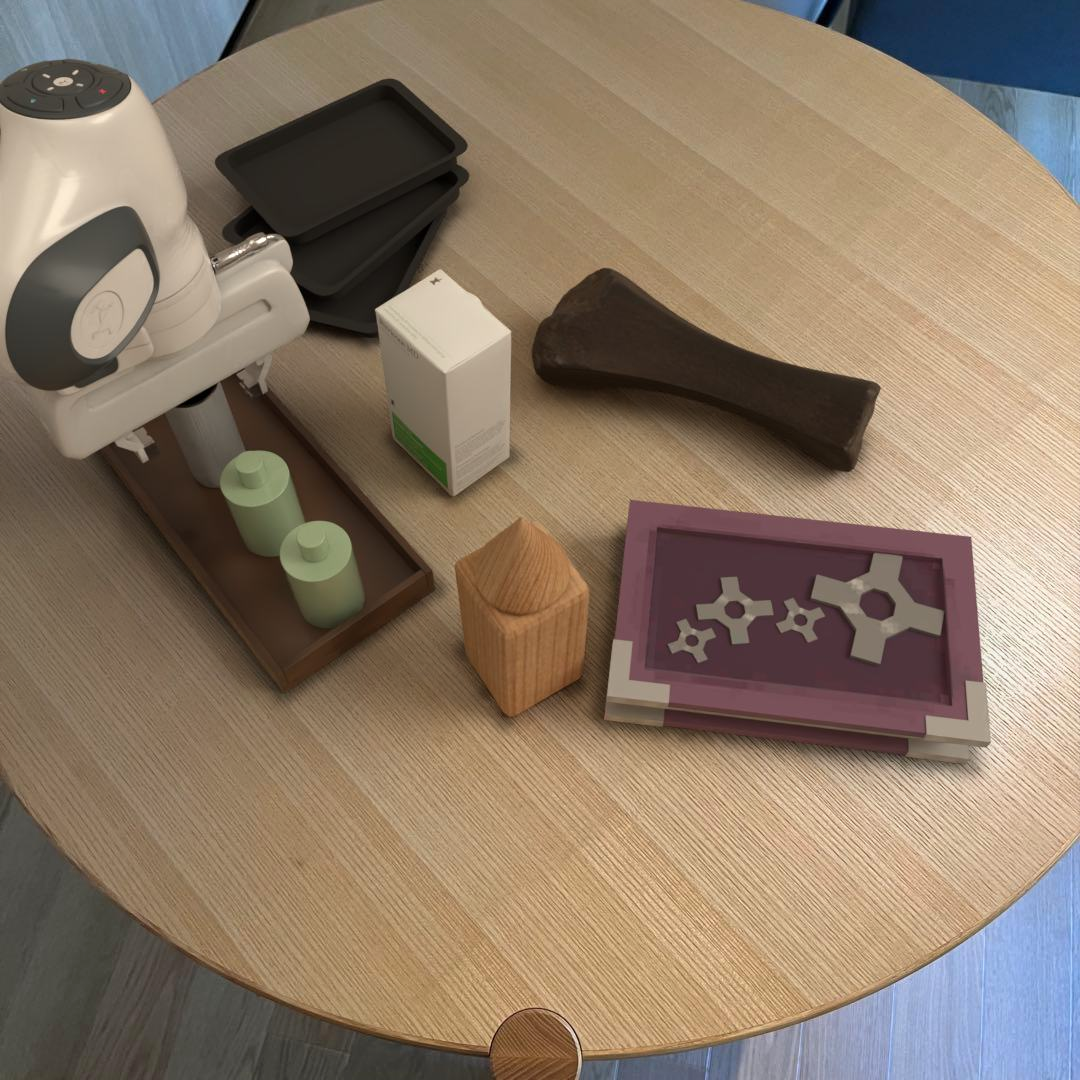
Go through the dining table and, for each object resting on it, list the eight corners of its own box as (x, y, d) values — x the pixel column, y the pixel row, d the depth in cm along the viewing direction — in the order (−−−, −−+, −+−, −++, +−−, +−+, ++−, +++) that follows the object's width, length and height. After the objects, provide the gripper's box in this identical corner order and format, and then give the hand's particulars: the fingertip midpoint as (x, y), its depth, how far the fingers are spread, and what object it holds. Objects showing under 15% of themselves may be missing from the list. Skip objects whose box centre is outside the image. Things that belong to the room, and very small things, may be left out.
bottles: (322, 641, 82) (299, 579, 75) (229, 526, 88) (199, 457, 80) (378, 603, 84) (361, 539, 76) (283, 492, 89) (259, 422, 82)
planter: (220, 498, 89) (185, 417, 80) (180, 470, 91) (142, 387, 82) (260, 461, 91) (231, 378, 82) (221, 434, 92) (187, 350, 84)
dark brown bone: (529, 383, 99) (829, 505, 96) (516, 357, 89) (852, 493, 86) (577, 270, 99) (877, 388, 97) (570, 231, 89) (907, 362, 86)
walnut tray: (284, 693, 81) (276, 676, 79) (91, 440, 93) (78, 418, 91) (435, 589, 86) (432, 569, 83) (232, 361, 98) (224, 337, 95)
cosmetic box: (391, 439, 93) (366, 306, 80) (453, 398, 96) (439, 262, 83) (455, 501, 90) (440, 374, 77) (517, 457, 92) (513, 326, 79)
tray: (436, 353, 98) (431, 311, 94) (178, 327, 100) (161, 285, 96) (488, 131, 114) (486, 86, 110) (265, 112, 116) (254, 67, 111)
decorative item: (508, 723, 80) (500, 583, 63) (461, 652, 83) (442, 500, 66) (586, 678, 82) (599, 530, 65) (538, 610, 85) (538, 452, 68)
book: (603, 724, 80) (607, 695, 76) (624, 534, 88) (628, 498, 84) (966, 769, 78) (990, 742, 74) (952, 570, 87) (973, 536, 82)
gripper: (258, 197, 79) (294, 333, 91) (-15, 336, 72) (62, 463, 84) (307, 247, 76) (338, 379, 88) (29, 395, 70) (102, 518, 81)
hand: (202, 421), depth 86 cm, fingers open, 8 cm apart
